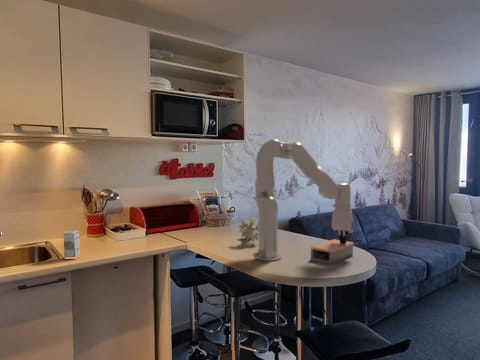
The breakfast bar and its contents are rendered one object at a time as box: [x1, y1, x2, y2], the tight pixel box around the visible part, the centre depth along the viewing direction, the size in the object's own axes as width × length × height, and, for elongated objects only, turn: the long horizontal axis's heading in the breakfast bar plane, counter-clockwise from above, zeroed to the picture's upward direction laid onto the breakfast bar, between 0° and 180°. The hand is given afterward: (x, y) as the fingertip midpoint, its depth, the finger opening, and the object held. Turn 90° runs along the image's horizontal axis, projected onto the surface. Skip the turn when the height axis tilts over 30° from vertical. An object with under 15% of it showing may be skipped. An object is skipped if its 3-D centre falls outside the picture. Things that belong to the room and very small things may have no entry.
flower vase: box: [238, 215, 259, 248], centre depth 206 cm, size 13×18×25 cm
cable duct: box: [310, 245, 354, 265], centre depth 170 cm, size 22×11×5 cm, turn 135°
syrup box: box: [62, 229, 81, 258], centre depth 176 cm, size 6×6×14 cm
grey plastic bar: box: [321, 252, 329, 259], centre depth 170 cm, size 18×2×2 cm, turn 135°
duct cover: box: [310, 238, 355, 253], centre depth 169 cm, size 22×12×1 cm, turn 135°
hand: (343, 243), depth 172 cm, fingers closed
